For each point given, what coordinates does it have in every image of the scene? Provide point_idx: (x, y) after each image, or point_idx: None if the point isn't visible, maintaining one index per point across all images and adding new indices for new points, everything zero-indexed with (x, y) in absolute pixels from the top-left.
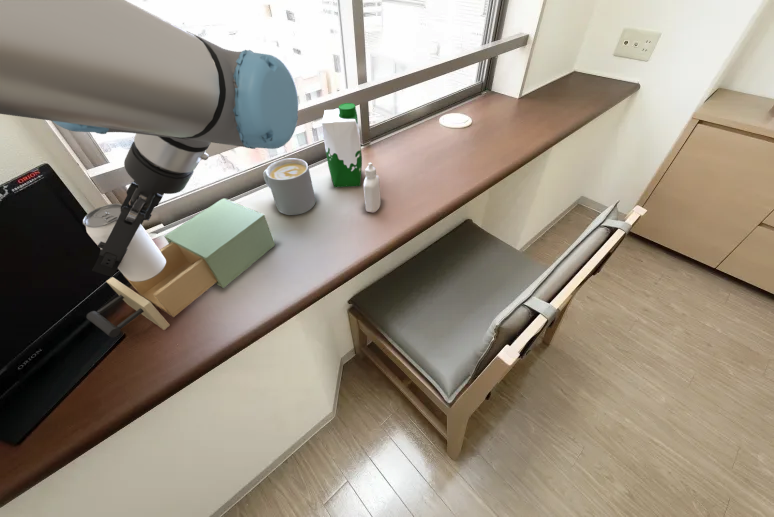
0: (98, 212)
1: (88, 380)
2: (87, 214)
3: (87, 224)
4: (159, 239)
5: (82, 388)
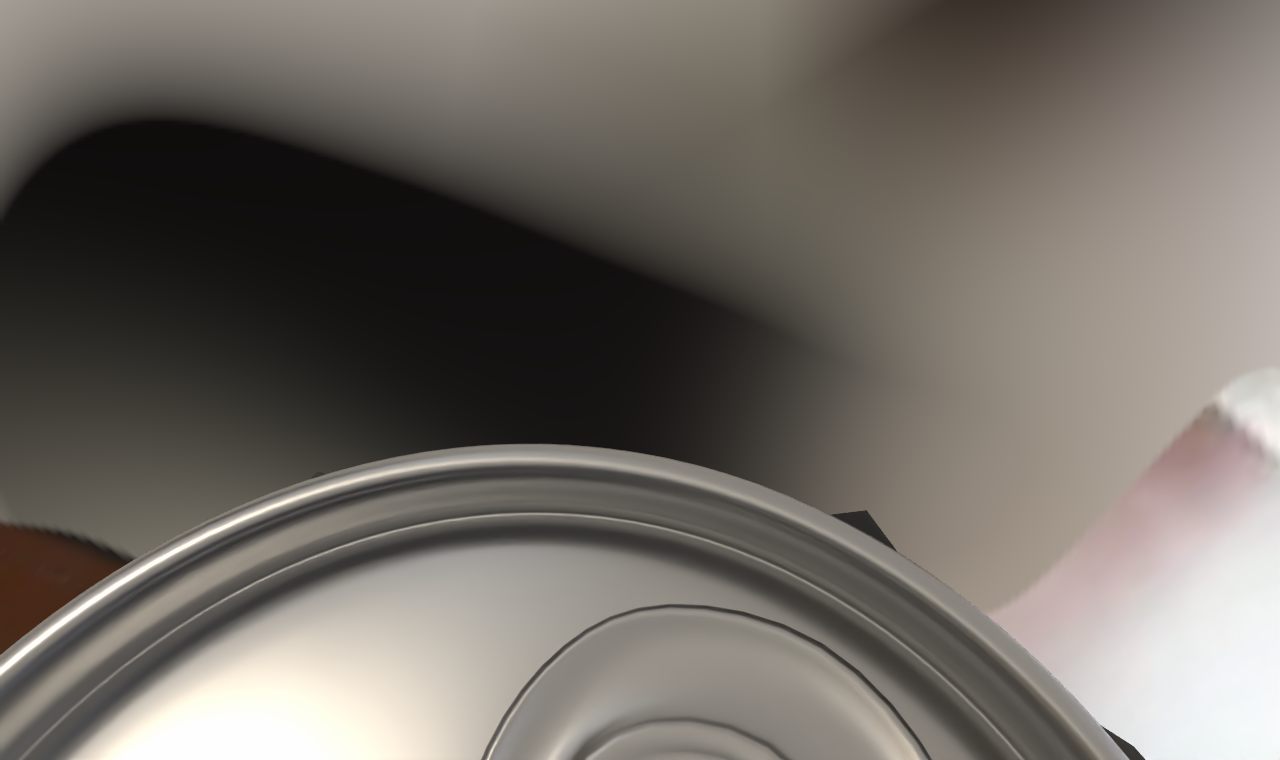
0: (779, 711)
1: (68, 600)
2: (588, 463)
3: (107, 706)
4: (1257, 480)
5: (24, 593)
